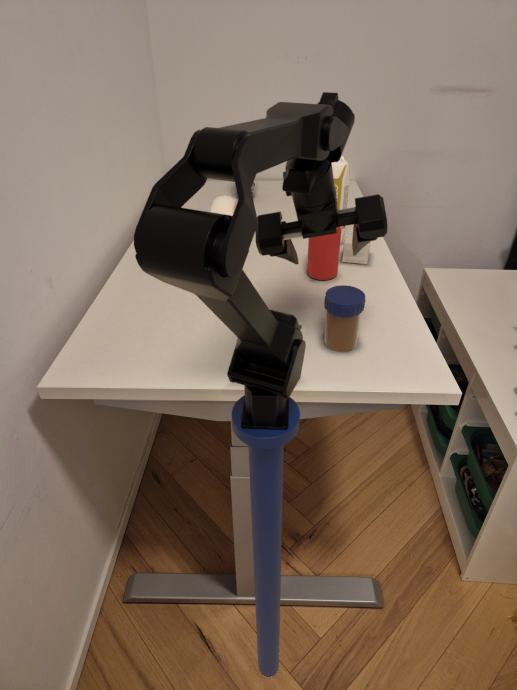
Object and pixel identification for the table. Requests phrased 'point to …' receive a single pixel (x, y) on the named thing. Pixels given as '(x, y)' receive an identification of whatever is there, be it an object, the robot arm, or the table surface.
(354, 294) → the lid
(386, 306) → the table surface
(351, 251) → the small box
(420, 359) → the table surface
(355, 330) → the jar
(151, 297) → the table surface
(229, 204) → the computer mouse
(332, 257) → the beer can
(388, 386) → the table surface
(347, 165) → the juice carton
